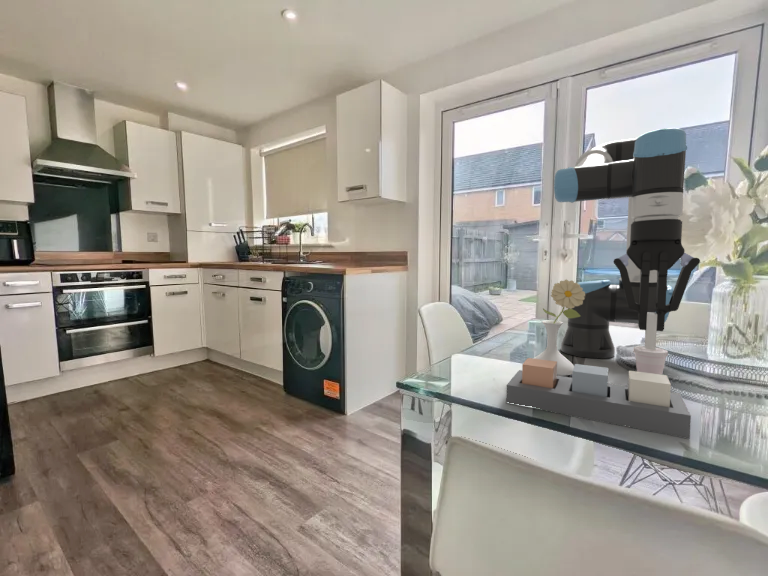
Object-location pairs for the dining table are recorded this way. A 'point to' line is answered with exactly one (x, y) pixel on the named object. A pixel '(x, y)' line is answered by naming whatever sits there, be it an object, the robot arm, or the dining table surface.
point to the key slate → (590, 380)
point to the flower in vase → (566, 297)
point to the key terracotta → (539, 373)
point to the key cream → (649, 388)
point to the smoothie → (650, 359)
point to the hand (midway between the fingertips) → (649, 347)
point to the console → (603, 406)
